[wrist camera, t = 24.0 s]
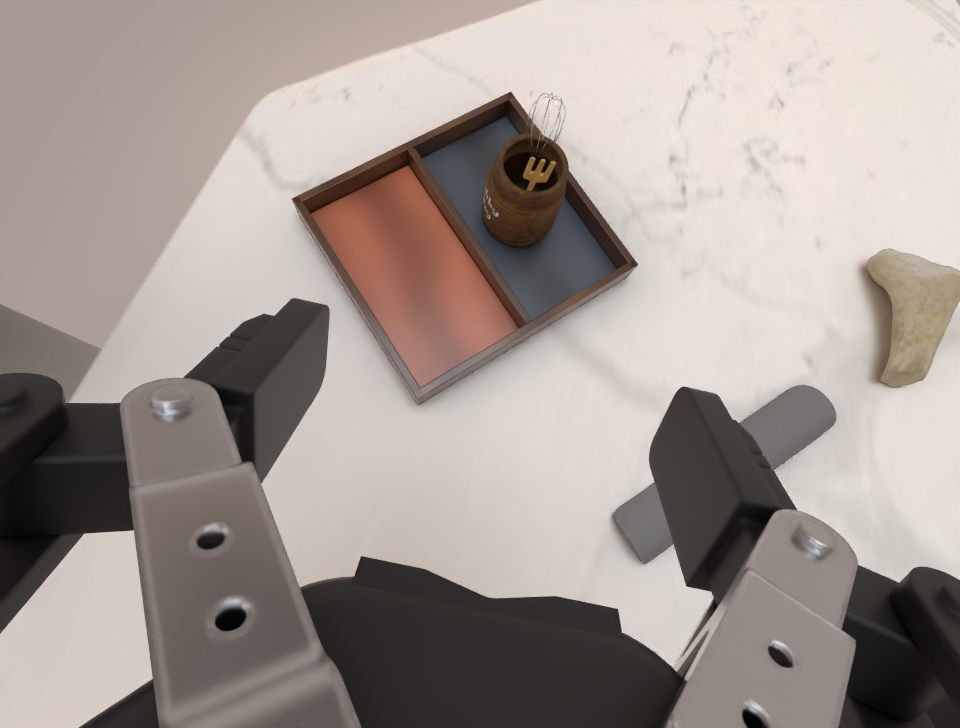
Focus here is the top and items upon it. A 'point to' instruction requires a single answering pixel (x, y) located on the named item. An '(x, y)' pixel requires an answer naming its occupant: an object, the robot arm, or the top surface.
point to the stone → (914, 310)
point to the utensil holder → (525, 187)
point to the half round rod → (779, 438)
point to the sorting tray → (454, 251)
